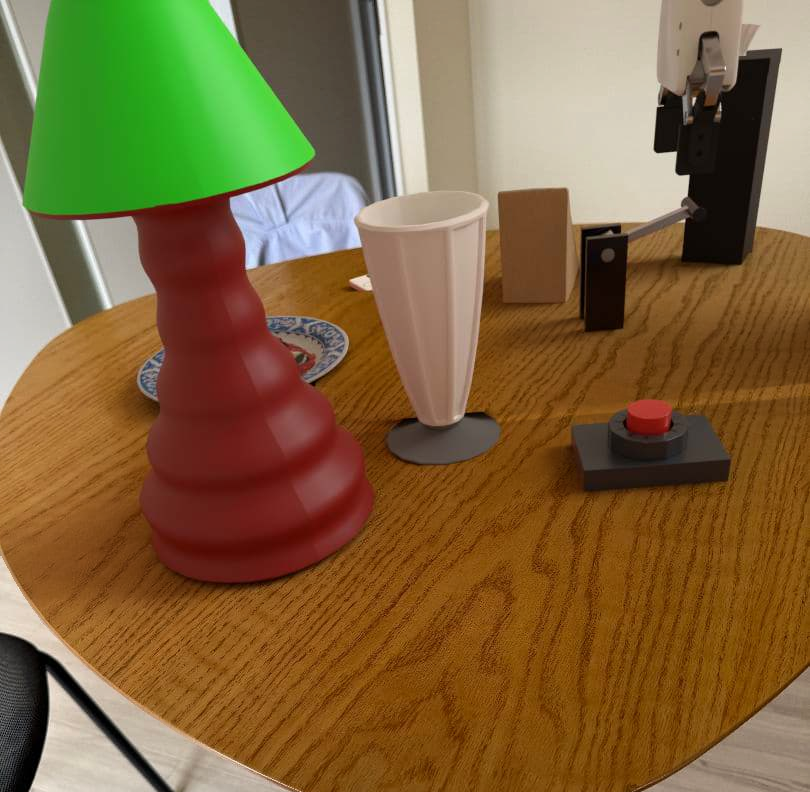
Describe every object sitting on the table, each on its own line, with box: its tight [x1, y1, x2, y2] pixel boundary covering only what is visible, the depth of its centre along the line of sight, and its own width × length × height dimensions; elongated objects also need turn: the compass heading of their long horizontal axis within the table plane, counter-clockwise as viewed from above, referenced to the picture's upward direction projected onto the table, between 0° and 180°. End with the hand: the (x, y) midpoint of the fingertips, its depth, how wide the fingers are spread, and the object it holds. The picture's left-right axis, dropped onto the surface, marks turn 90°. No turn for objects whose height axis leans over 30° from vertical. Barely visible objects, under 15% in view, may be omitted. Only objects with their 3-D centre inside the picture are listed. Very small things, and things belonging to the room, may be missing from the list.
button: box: [626, 398, 672, 436], centre depth 67 cm, size 4×4×2 cm
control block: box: [570, 407, 732, 493], centre depth 68 cm, size 12×8×4 cm, turn 88°
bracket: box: [578, 222, 629, 333], centre depth 90 cm, size 12×8×12 cm, turn 88°
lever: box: [597, 195, 706, 244], centre depth 86 cm, size 12×5×2 cm, turn 88°
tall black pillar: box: [681, 23, 783, 266], centre depth 99 cm, size 8×8×28 cm
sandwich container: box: [497, 186, 580, 304], centre depth 102 cm, size 9×15×15 cm, turn 163°
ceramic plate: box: [136, 315, 350, 403], centre depth 95 cm, size 26×26×3 cm
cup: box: [353, 190, 502, 466], centre depth 71 cm, size 12×12×22 cm
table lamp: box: [22, 0, 375, 584], centre depth 56 cm, size 20×20×45 cm
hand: (681, 162), depth 72 cm, fingers open, 9 cm apart
